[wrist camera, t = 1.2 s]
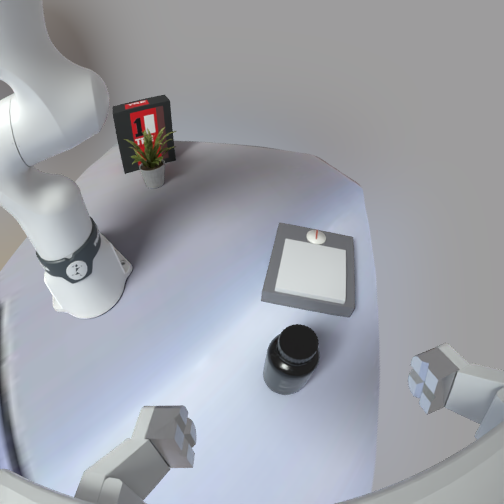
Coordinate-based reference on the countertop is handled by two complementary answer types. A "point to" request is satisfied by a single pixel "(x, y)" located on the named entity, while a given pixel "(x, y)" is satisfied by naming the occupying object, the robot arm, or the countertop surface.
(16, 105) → the robot arm
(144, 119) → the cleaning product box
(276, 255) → the kitchen scale
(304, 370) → the supplement bottle
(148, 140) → the house plant
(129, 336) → the countertop surface
